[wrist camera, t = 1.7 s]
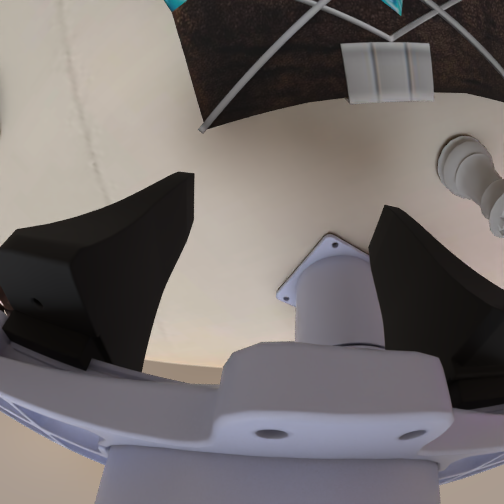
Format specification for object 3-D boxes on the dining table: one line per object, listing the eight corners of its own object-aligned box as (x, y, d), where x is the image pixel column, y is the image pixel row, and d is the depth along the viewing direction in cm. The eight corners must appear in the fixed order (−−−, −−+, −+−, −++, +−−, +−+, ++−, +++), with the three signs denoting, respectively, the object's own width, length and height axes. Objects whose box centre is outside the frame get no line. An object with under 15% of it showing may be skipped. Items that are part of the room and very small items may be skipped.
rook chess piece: (469, 121, 16) (537, 171, 10) (491, 168, 18) (549, 229, 12) (424, 155, 18) (478, 218, 12) (450, 199, 20) (498, 269, 14)
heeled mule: (7, 311, 38) (-4, 328, 35) (-3, 266, 32) (-18, 285, 28) (28, 324, 39) (16, 342, 36) (20, 281, 32) (4, 301, 29)
